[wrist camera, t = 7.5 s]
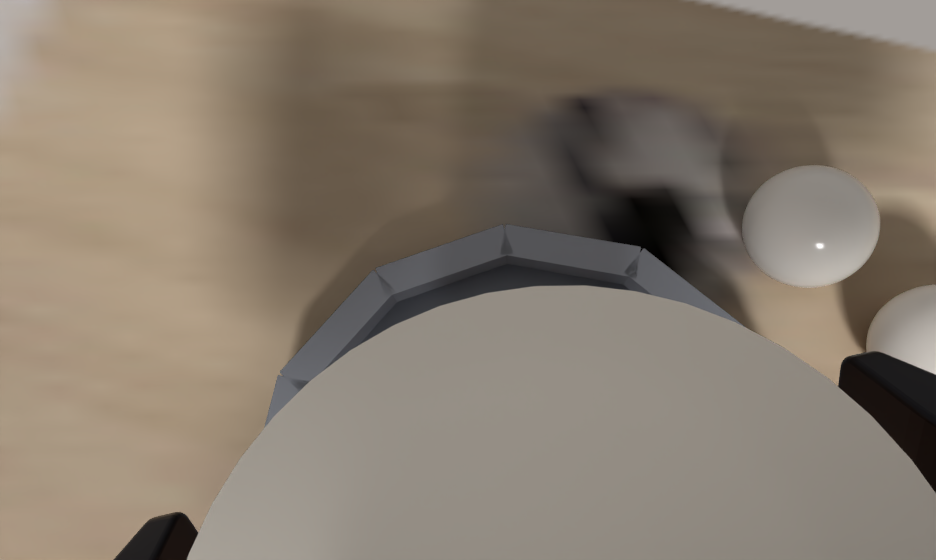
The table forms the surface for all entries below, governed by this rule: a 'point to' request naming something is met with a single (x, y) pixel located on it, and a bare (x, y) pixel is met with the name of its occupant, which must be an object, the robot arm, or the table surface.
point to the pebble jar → (571, 446)
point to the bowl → (478, 288)
